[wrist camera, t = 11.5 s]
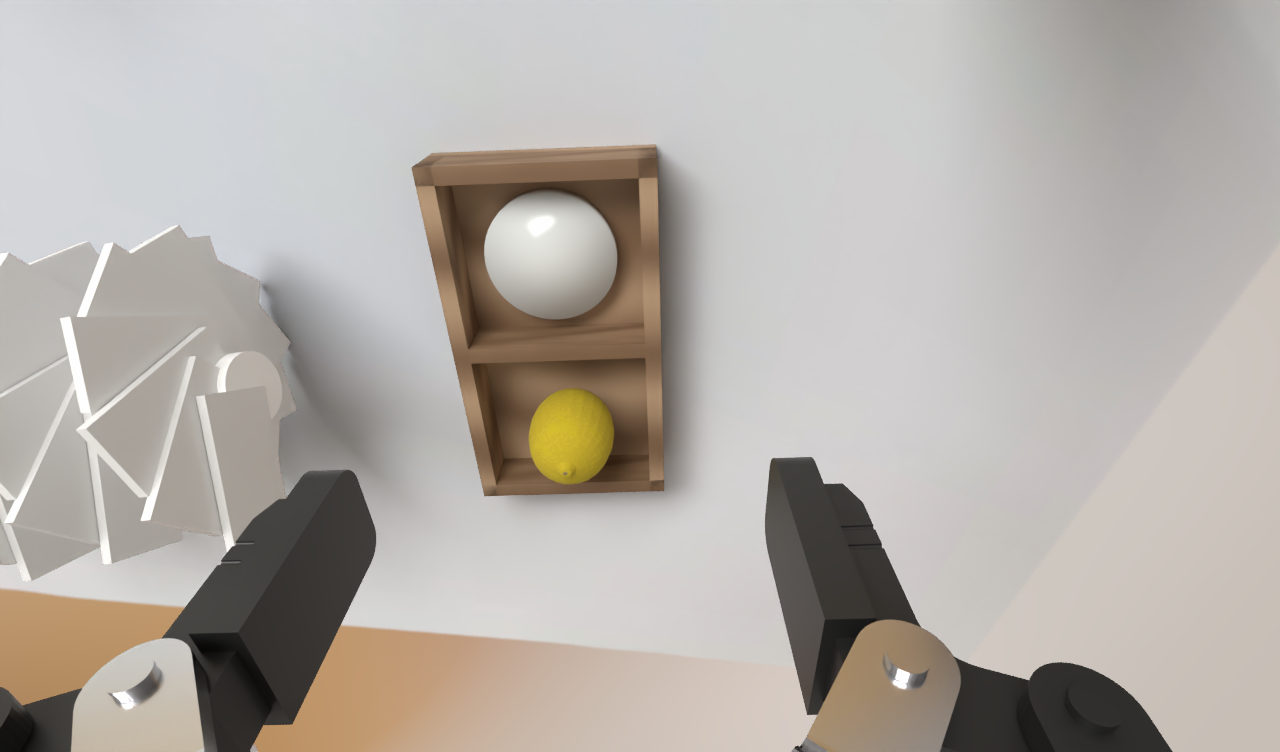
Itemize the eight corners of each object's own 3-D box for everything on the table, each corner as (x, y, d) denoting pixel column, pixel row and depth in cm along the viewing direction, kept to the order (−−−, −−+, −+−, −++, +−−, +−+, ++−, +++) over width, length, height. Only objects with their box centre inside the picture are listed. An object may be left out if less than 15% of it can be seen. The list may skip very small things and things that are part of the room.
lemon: (582, 353, 41) (571, 421, 34) (631, 407, 44) (629, 481, 37) (521, 393, 43) (499, 466, 36) (571, 444, 45) (559, 521, 38)
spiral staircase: (11, 288, 44) (328, 237, 41) (64, 523, 46) (373, 492, 42) (-477, 272, 26) (23, 178, 23) (-361, 662, 27) (122, 626, 24)
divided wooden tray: (432, 153, 35) (411, 167, 32) (655, 144, 35) (657, 158, 32) (495, 462, 47) (484, 496, 44) (662, 457, 47) (664, 490, 44)
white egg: (478, 189, 36) (473, 195, 35) (613, 184, 36) (613, 189, 34) (499, 313, 40) (495, 321, 39) (621, 309, 40) (620, 317, 39)
